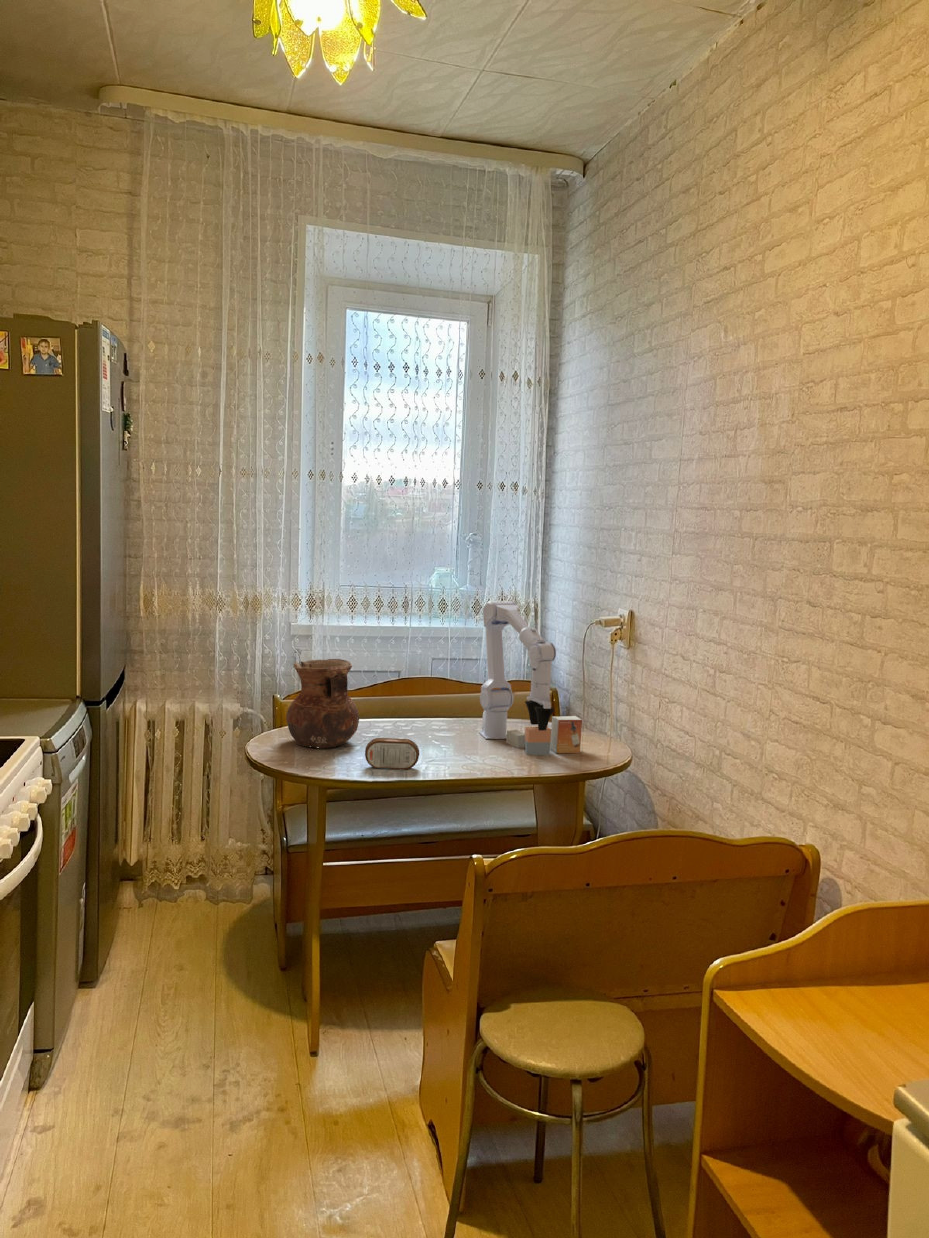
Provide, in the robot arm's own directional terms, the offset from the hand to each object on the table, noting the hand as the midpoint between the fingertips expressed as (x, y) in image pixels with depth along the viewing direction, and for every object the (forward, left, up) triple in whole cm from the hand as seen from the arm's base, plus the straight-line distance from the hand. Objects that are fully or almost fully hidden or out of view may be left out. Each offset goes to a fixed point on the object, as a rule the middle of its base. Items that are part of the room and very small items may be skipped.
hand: (538, 727), depth 277 cm
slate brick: (0, 0, -8) cm, 8 cm away
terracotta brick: (0, 0, -4) cm, 4 cm away
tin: (+13, -47, -8) cm, 49 cm away
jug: (-17, -63, -8) cm, 66 cm away
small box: (-2, +10, -8) cm, 13 cm away
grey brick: (-11, -3, -8) cm, 14 cm away
